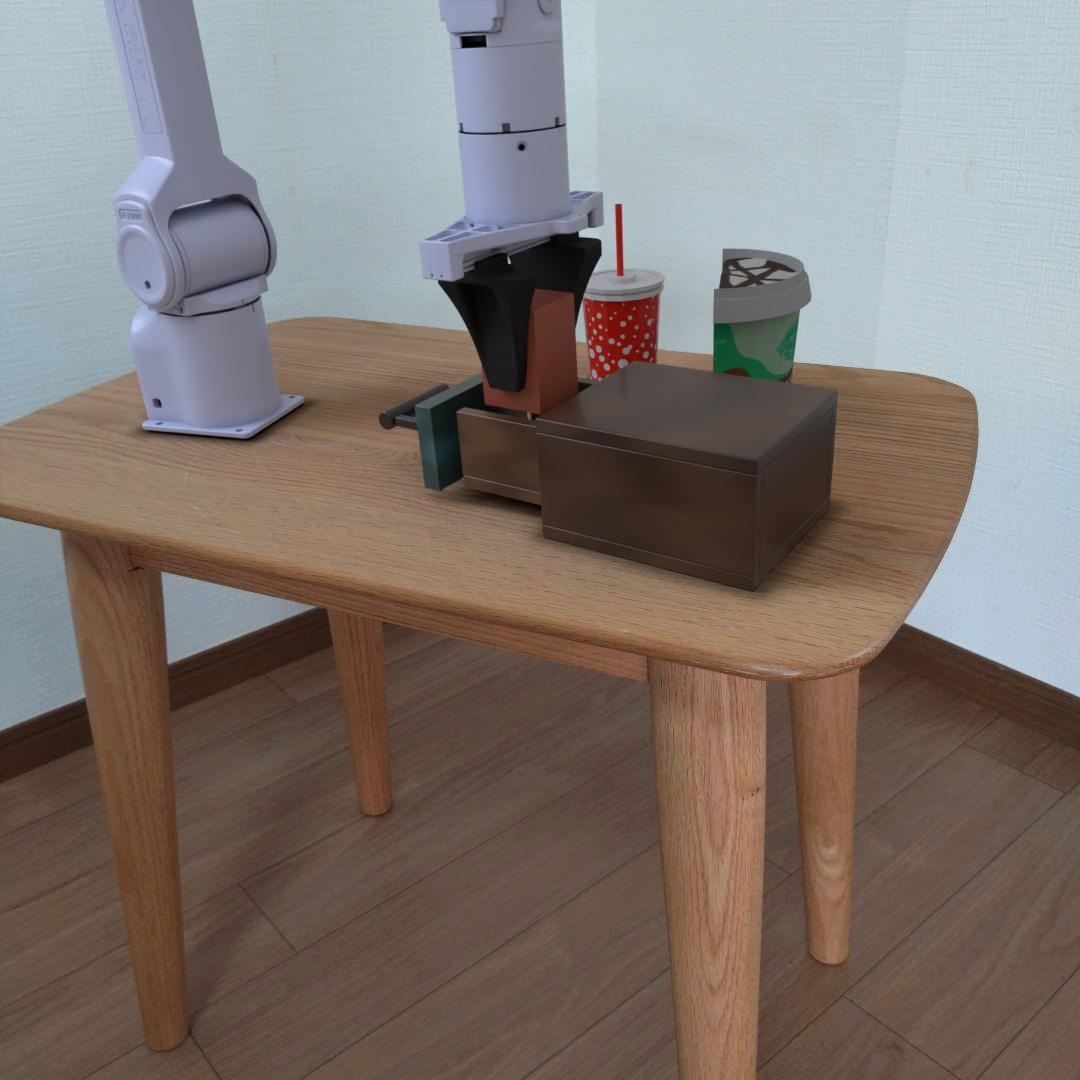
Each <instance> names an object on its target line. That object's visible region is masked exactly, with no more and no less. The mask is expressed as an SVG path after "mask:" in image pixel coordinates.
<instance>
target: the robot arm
mask: <svg viewBox="0 0 1080 1080" xmlns="http://www.w3.org/2000/svg"><path fill="white" fill-rule="evenodd" d="M103 4H104V7H105V8H104V9H105V11H106V16H107V21H108V24H109V29H110V33H111V38H112V42H113V46H114V51H115V54H116V59H117V63H118V67H119V68H118V69H119V72H120V76H121V81H122V84H123V89H124V93H125V98H126V103H127V107H128V112H129V115H130V120H131V123H132V128H133V131H134V136H135V137H134V138H135V141H136V145H137V151H138V154H139V158H140V161H139V163H138V164H137V166H136V168H135V169H134V170H133V171H132V172H131V174H130V175H129V177H128V178H127V179H126V180H125V181H124V183H123V184H122V185H121V186H120V187H119V188H118V190H117V191H116V192H115V194H114V196H113V197H112V199H111V202H112V206H113V211H114V215H115V219H116V243H115V255H116V261H117V266H118V268H119V271H120V273H121V277H122V279H123V281H124V282H125V284H126V286H127V287H128V289H129V290H130V291H131V292H132V293H133V295H134V296H135V297H136V298H137V299H138V300H140V302H141V303H142V305H141V307H139V309H137V311H136V312H135V314H134V315H133V318H132V321H131V325H130V331H129V345H130V351H131V354H132V359H133V363H134V368H135V371H136V374H137V379H138V383H139V386H140V390H141V395H142V398H143V401H144V406H145V410H146V414H147V415H146V416H147V418H148V419H147V420H145V421H143V422H142V423H141V427H142V429H143V430H145V431H154V432H166V433H176V434H186V435H187V434H188V435H197V436H198V435H200V436H201V435H202V436H211V437H220V438H221V437H223V438H232V439H249V438H252V437H253V436H255V435H257V434H258V433H259V432H261V431H263V430H264V429H266V428H267V427H268V426H270V425H271V424H273V423H275V422H276V421H278V420H279V419H281V418H282V417H284V416H285V415H287V414H288V413H290V412H292V411H293V410H294V409H296V408H298V407H299V406H301V405H303V404H304V403H305V402H306V401H305V396H304V395H298V394H286V393H285V394H283V393H280V390H279V384H278V379H277V375H276V374H277V373H276V369H275V363H274V358H273V352H272V348H271V343H270V342H271V341H270V337H269V331H268V326H267V320H266V316H265V310H264V305H263V299H262V296H261V294H262V295H263V293H266V292H268V291H269V286H268V281H267V278H269V276H270V275H271V274H272V273H273V271H274V270H275V267H276V264H277V260H278V243H277V237H276V233H275V230H274V228H273V224H272V222H271V220H270V219H269V217H268V215H267V213H266V211H265V209H264V207H263V205H262V201H261V198H260V194H259V190H258V184H257V180H256V179H255V177H254V176H253V175H252V174H250V173H249V172H248V171H246V170H245V169H243V168H242V167H241V166H239V165H238V164H237V163H236V162H234V161H233V160H231V159H230V158H229V157H228V156H226V155H225V154H224V151H223V147H222V142H221V137H220V136H221V135H220V132H219V126H218V122H217V116H216V112H215V106H214V101H213V97H212V90H211V86H210V80H209V76H208V70H207V67H206V66H207V65H206V61H205V55H204V50H203V46H202V41H201V40H202V39H201V35H200V30H199V26H198V21H197V16H196V10H195V6H194V0H103ZM438 4H439V5H438V6H439V17H440V22H444V23H445V29H446V31H447V32H448V38H449V47H450V57H451V59H450V60H451V69H452V70H451V71H452V72H451V73H452V80H453V81H452V82H453V92H454V105H455V113H456V124H457V136H458V137H457V138H458V146H459V147H458V149H459V158H460V170H461V179H462V190H463V200H464V201H463V202H464V212H465V215H463V216H462V217H460V218H459V219H457V220H455V221H454V222H453V223H450V225H448V226H446V227H445V228H443V229H441V230H440V231H438V232H436V233H435V234H433V235H430V236H428V237H425V238H423V239H419V240H418V246H419V248H418V249H419V255H420V264H421V274H422V279H425V280H433V281H437V284H438V286H439V287H440V288H441V289H442V291H443V293H445V295H446V296H447V297H448V299H449V300H450V301H451V303H452V304H453V306H454V307H455V309H456V311H457V313H458V314H459V316H460V317H461V319H462V321H463V323H464V325H465V327H466V329H467V331H468V333H469V335H470V338H471V341H472V343H473V345H474V347H475V350H476V352H477V355H478V358H479V361H480V365H481V364H482V366H481V368H482V367H483V369H484V372H485V375H486V378H487V381H488V384H489V386H490V388H493V389H499V390H505V391H511V392H519V391H521V390H523V389H524V387H525V382H526V375H527V331H528V322H529V315H530V309H531V304H532V300H533V296H534V292H535V289H542V290H551V291H561V292H570V293H574V311H575V331H576V330H577V329H576V328H577V324H578V320H579V315H580V310H581V306H582V300H583V296H584V293H585V291H586V288H587V285H588V282H589V280H590V278H591V275H592V273H593V272H595V268H596V267H597V265H598V263H599V261H600V259H601V258H602V256H603V250H602V249H603V247H602V245H603V244H602V239H600V238H596V237H586V236H580V232H581V231H583V230H586V229H596V228H599V227H602V226H604V225H605V216H604V214H605V213H604V192H603V191H594V190H572V191H571V189H570V169H569V148H568V147H569V146H568V145H569V144H568V125H567V122H568V120H567V101H566V100H567V99H566V80H565V79H566V78H565V60H564V59H565V58H564V36H563V35H564V34H563V17H562V16H563V14H562V0H438ZM204 201H205V202H204ZM194 203H195V204H194ZM190 204H191V205H190ZM509 262H510V263H509Z"/></svg>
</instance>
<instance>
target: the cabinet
mask: <svg viewBox="0 0 1080 1080" xmlns="http://www.w3.org/2000/svg"><path fill="white" fill-rule="evenodd" d="M838 399H839V389H834V388H829V387H823V386H822V387H821V386H814V385H807V384H800V383H792V382H791V383H787V382H780V381H773V380H766V379H759V378H752V377H745V376H738V375H731V374H724V373H717V372H713V371H711V370H710V371H709V370H703V369H698V368H697V369H696V368H690V367H683V366H675V365H668V364H661V363H657V364H655V363H648V362H641V361H633V362H632V363H630V364H628V365H626V366H625V367H623V368H621V369H619V370H618V371H616V372H614V373H613V374H611V375H609V376H607V377H606V378H604V379H602V380H601V381H599V382H597V383H595V384H594V385H592V386H590V387H589V388H587V389H585V390H583V391H582V392H580V393H578V394H576V395H575V396H573V397H571V398H570V399H568V400H566V401H564V402H563V403H561V404H559V405H558V406H556V407H554V408H552V409H551V410H549V411H547V412H546V413H544V414H542V415H540V416H539V417H537V418H536V419H535V423H536V432H537V433H536V438H537V452H538V467H539V482H540V496H541V505H540V509H541V523H542V536H543V538H546V539H551V540H556V541H558V542H562V543H566V544H568V545H569V544H570V545H574V546H578V547H580V548H585V549H588V550H593V551H597V552H600V553H605V554H608V555H612V556H616V557H620V558H624V559H628V560H630V561H635V562H639V563H642V564H646V565H651V566H654V567H658V568H662V569H665V570H670V571H674V572H677V573H681V574H685V575H690V576H693V577H696V578H700V579H705V580H707V581H712V582H716V583H720V584H723V585H727V586H730V587H731V586H732V587H735V588H739V589H742V590H746V591H750V592H752V591H754V589H756V588H757V587H758V586H759V584H761V582H762V581H763V580H764V579H765V578H766V577H767V575H769V573H771V572H772V571H773V569H775V567H776V566H777V565H778V564H779V563H780V562H781V561H782V560H783V558H784V557H786V555H787V554H788V553H790V551H791V550H792V549H793V548H794V547H795V546H796V544H798V542H799V541H801V540H802V539H803V537H804V536H805V535H806V534H807V533H808V532H809V531H810V530H811V528H812V527H813V526H814V525H815V524H816V523H817V522H818V521H819V520H820V519H821V518H822V517H823V516H824V514H825V513H827V511H829V509H830V508H831V507H830V506H831V494H832V481H833V470H834V469H833V467H834V454H835V441H836V440H835V439H836V427H837V417H838V416H837V414H838V402H839V401H838Z"/></svg>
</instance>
